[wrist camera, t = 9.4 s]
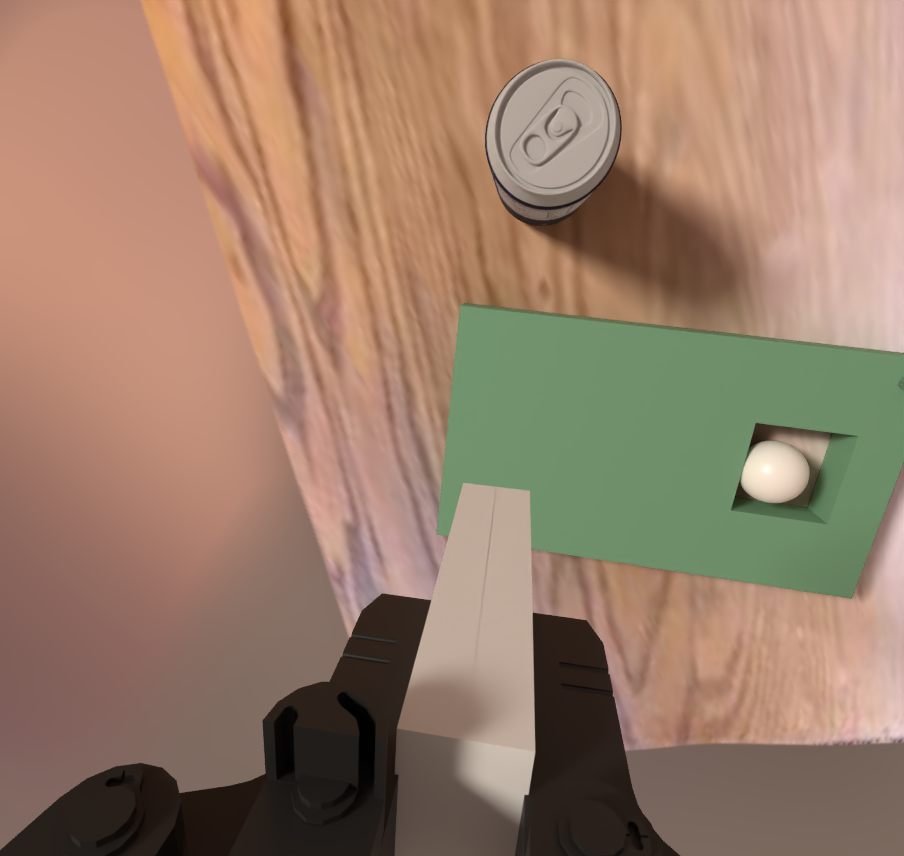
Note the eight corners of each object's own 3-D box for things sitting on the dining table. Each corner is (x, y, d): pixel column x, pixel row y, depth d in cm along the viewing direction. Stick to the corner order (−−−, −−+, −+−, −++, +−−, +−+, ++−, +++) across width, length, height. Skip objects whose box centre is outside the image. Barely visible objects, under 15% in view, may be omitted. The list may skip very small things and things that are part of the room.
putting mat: (464, 303, 35) (460, 305, 33) (912, 353, 33) (942, 360, 30) (441, 518, 40) (436, 534, 38) (830, 577, 38) (851, 598, 35)
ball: (739, 441, 33) (814, 460, 31) (752, 427, 36) (821, 444, 34) (723, 498, 34) (794, 521, 32) (737, 481, 37) (802, 500, 35)
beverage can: (609, 181, 32) (656, 134, 21) (535, 246, 34) (541, 235, 22) (551, 103, 31) (567, 10, 20) (478, 173, 33) (454, 124, 22)
